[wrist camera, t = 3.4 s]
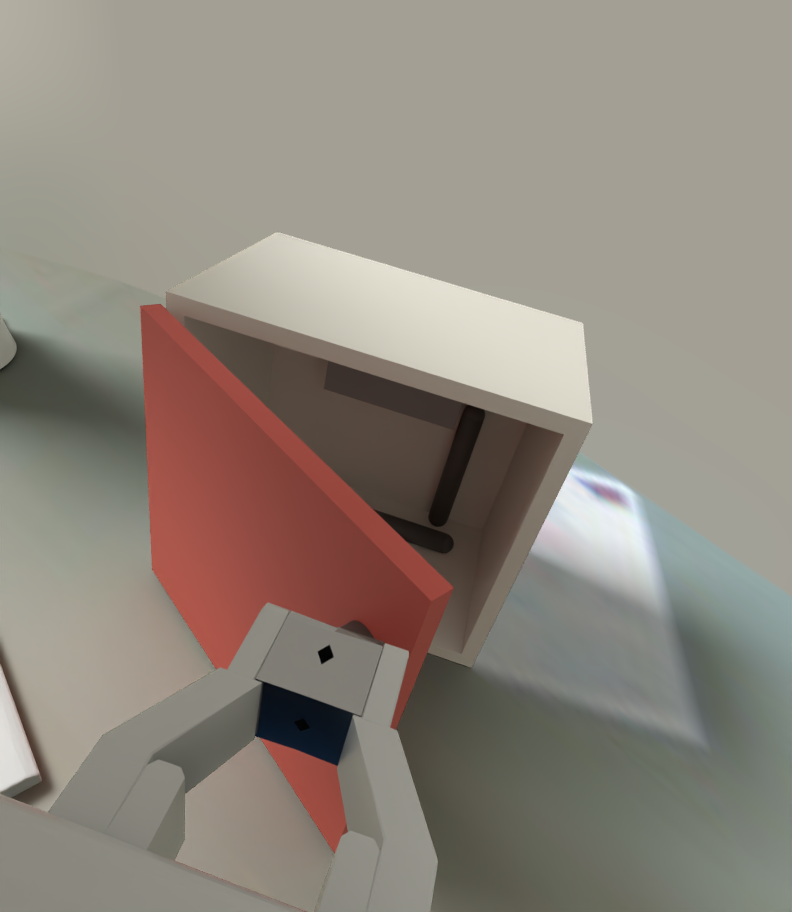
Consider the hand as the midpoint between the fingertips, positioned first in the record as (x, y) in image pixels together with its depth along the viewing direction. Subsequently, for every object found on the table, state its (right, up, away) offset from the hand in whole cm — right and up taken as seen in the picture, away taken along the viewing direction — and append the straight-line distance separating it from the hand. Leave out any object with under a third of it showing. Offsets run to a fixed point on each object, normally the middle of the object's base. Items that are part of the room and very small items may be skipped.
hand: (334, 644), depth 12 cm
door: (-9, -10, +22) cm, 25 cm away
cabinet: (-3, -3, +34) cm, 34 cm away
